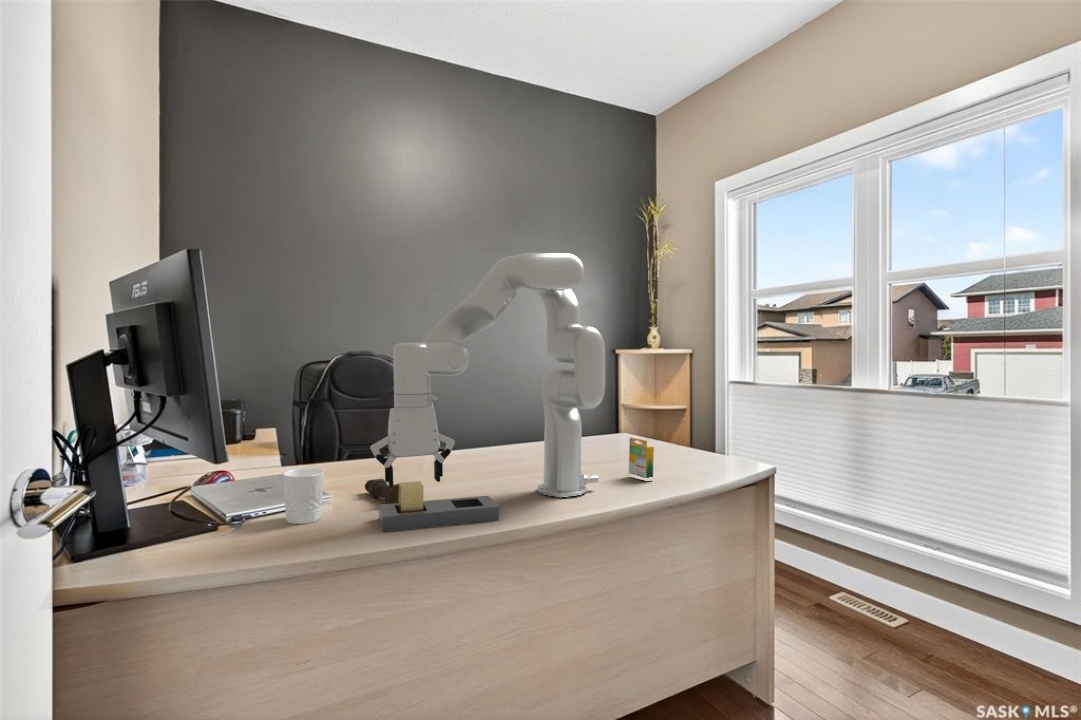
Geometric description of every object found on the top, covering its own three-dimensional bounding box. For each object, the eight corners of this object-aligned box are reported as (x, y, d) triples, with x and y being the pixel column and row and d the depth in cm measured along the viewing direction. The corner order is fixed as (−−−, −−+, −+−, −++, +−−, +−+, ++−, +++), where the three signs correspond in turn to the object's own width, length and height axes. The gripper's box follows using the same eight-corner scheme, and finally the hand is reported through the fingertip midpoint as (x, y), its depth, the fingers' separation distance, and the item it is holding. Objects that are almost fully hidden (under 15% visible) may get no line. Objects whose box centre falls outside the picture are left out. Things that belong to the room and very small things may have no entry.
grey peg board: (488, 508, 126) (488, 495, 126) (499, 520, 117) (499, 506, 117) (379, 518, 117) (379, 504, 117) (382, 532, 109) (382, 517, 109)
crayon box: (653, 481, 155) (654, 440, 154) (645, 482, 153) (646, 441, 153) (636, 475, 161) (636, 436, 160) (628, 477, 159) (629, 437, 159)
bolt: (373, 500, 138) (401, 512, 127) (356, 492, 135) (383, 504, 124) (384, 478, 140) (412, 488, 129) (367, 470, 137) (394, 480, 126)
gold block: (419, 518, 118) (420, 481, 118) (423, 524, 114) (423, 486, 114) (398, 520, 117) (398, 482, 116) (400, 526, 112) (401, 487, 112)
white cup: (318, 524, 113) (319, 476, 113) (278, 526, 112) (278, 477, 111) (327, 513, 121) (327, 467, 120) (289, 514, 119) (289, 468, 119)
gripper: (450, 397, 121) (451, 474, 122) (368, 401, 115) (370, 482, 116) (457, 401, 114) (458, 482, 115) (370, 405, 108) (372, 491, 109)
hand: (414, 482), depth 116 cm, fingers open, 9 cm apart
